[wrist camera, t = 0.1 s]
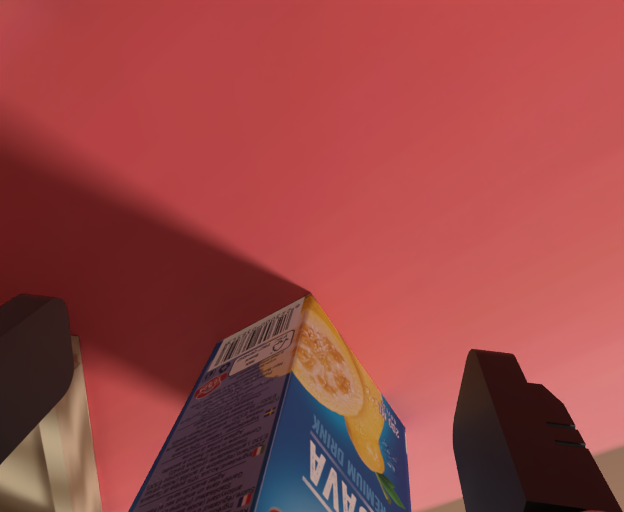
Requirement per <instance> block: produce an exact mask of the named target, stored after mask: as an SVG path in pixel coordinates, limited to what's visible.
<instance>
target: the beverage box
mask: <svg viewBox="0 0 624 512" xmlns="http://www.w3.org/2000/svg"><path fill="white" fill-rule="evenodd" d="M128 512H411V501H410V487H409V474H408V460H407V446H406V432H405V427H404V425H403V424H402V423H401V421H400V420H399V418H398V417H397V415H396V414H395V413H394V411H393V410H392V408H391V407H390V405H389V404H388V402H387V401H386V400H385V398H384V397H383V395H382V394H381V392H380V391H379V390H378V388H377V387H376V385H375V384H374V382H373V381H372V380H371V378H370V377H369V375H368V374H367V372H366V371H365V370H364V368H363V367H362V365H361V364H360V362H359V361H358V360H357V358H356V357H355V355H354V354H353V352H352V351H351V349H350V348H349V347H348V345H347V344H346V342H345V341H344V339H343V338H342V337H341V335H340V334H339V332H338V331H337V329H336V328H335V327H334V325H333V324H332V322H331V321H330V319H329V318H328V317H327V315H326V314H325V312H324V311H323V309H322V308H321V307H320V305H319V304H318V302H317V301H316V299H315V298H314V297H313V295H312V294H311V293H310V294H308V295H307V296H305V297H303V298H301V299H299V300H297V301H295V302H293V303H291V304H290V305H288V306H286V307H284V308H282V309H280V310H278V311H276V312H274V313H273V314H271V315H269V316H267V317H265V318H263V319H261V320H259V321H258V322H256V323H254V324H252V325H250V326H248V327H246V328H244V329H242V330H241V331H239V332H237V333H235V334H233V335H231V336H229V337H227V338H225V339H224V340H222V341H220V342H218V343H217V344H216V346H215V348H214V350H213V352H212V354H211V356H210V358H209V360H208V361H207V363H206V365H205V367H204V369H203V371H202V373H201V375H200V377H199V378H198V380H197V382H196V384H195V386H194V388H193V390H192V392H191V394H190V396H189V397H188V399H187V401H186V403H185V405H184V407H183V409H182V411H181V413H180V415H179V416H178V418H177V420H176V422H175V424H174V426H173V428H172V430H171V432H170V434H169V435H168V437H167V439H166V441H165V443H164V445H163V447H162V449H161V451H160V452H159V454H158V456H157V458H156V460H155V462H154V464H153V466H152V468H151V470H150V471H149V473H148V475H147V477H146V479H145V481H144V483H143V485H142V487H141V489H140V490H139V492H138V494H137V496H136V498H135V500H134V502H133V504H132V506H131V508H130V509H129V511H128Z"/></svg>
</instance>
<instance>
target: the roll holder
mask: <svg viewBox="0 0 624 512" xmlns="http://www.w3.org/2000/svg"><path fill="white" fill-rule="evenodd" d="M71 342H72V351H73V359H74V374H73V379H72V382H71V385H70V387H69V389H68V391H67V393H66V394H65V395H64V397H63V398H62V399H61V400H60V401H59V402H58V403H57V404H56V405H55V406H54V408H53V409H52V410H51V411H50V412H49V413H48V414H47V415H46V416H45V417H44V418H43V419H42V420H41V422H40V423H39V424H38V425H37V426H36V427H35V428H34V429H33V430H32V431H31V432H30V433H29V434H28V436H27V437H26V438H25V439H24V440H23V441H22V442H21V443H20V444H19V445H18V446H17V447H16V448H15V450H14V451H13V452H12V453H11V454H10V455H9V456H8V457H7V458H6V459H5V460H4V461H3V462H2V464H1V465H0V512H102V505H101V498H100V491H99V483H98V476H97V469H96V461H95V454H94V447H93V439H92V432H91V425H90V417H89V410H88V403H87V395H86V388H85V381H84V373H83V366H82V359H81V351H80V344H79V337H78V336H72V335H71Z"/></svg>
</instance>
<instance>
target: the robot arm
mask: <svg viewBox="0 0 624 512" xmlns="http://www.w3.org/2000/svg"><path fill="white" fill-rule="evenodd" d="M73 374H74V359H73V351H72V342H71V334H70V325H69V317H68V310H67V306H66V304H65V302H64V301H63V300H62V299H60V298H55V297H46V296H38V295H30V294H20V295H18V296H16V297H14V298H13V299H11V300H10V301H8V302H7V303H5V304H4V305H2V306H1V307H0V465H1V464H2V462H3V461H4V460H5V459H6V458H7V457H8V456H9V455H10V454H11V453H12V452H13V451H14V450H15V448H16V447H17V446H18V445H19V444H20V443H21V442H22V441H23V440H24V439H25V438H26V437H27V436H28V434H29V433H30V432H31V431H32V430H33V429H34V428H35V427H36V426H37V425H38V424H39V423H40V422H41V420H42V419H43V418H44V417H45V416H46V415H47V414H48V413H49V412H50V411H51V410H52V409H53V408H54V406H55V405H56V404H57V403H58V402H59V401H60V400H61V399H62V398H63V397H64V395H65V394H66V393H67V391H68V389H69V387H70V385H71V382H72V379H73ZM453 449H454V455H455V460H456V465H457V470H458V474H459V479H460V484H461V489H462V494H463V499H464V504H465V509H466V512H622V510H621V508H620V506H619V504H618V502H617V501H616V499H615V497H614V495H613V493H612V491H611V490H610V488H609V486H608V484H607V482H606V481H605V479H604V477H603V475H602V473H601V471H600V470H599V468H598V466H597V464H596V462H595V460H594V459H593V457H592V455H591V453H590V451H589V450H588V449H586V448H585V442H584V440H583V439H582V437H581V435H580V433H579V431H578V430H575V424H574V422H573V420H572V419H571V417H570V415H569V413H568V411H567V409H566V408H565V406H564V404H563V403H562V402H561V401H560V400H559V399H557V398H556V397H555V396H554V395H553V394H552V393H551V392H550V391H549V390H547V389H546V388H545V387H544V386H543V385H542V384H534V383H527V381H526V379H525V376H524V374H523V372H522V370H521V368H520V366H519V364H518V362H517V360H516V358H515V356H514V355H513V354H510V353H502V352H494V351H485V350H477V349H471V350H470V351H469V353H468V356H467V360H466V364H465V369H464V373H463V378H462V383H461V387H460V392H459V397H458V401H457V406H456V411H455V416H454V422H453Z"/></svg>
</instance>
